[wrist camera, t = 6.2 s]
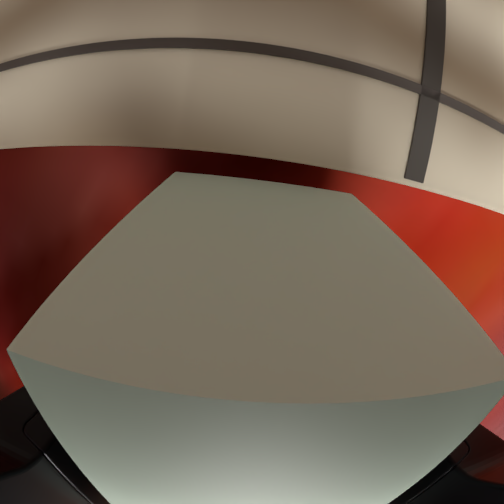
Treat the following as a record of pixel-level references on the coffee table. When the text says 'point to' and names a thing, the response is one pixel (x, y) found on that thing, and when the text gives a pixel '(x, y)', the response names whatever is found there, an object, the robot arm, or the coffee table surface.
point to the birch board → (268, 83)
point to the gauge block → (255, 352)
